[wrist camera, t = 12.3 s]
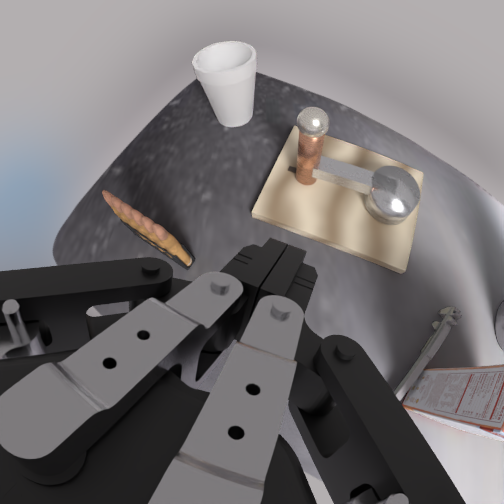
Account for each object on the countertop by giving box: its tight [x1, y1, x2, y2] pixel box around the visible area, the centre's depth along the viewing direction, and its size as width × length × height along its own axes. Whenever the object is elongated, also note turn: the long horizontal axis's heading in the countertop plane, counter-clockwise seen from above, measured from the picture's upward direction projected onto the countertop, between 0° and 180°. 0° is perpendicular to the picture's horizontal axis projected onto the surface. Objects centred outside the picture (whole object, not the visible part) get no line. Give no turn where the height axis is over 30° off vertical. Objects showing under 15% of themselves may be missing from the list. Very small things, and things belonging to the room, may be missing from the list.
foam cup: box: [192, 41, 257, 127], centre depth 42 cm, size 10×9×13 cm
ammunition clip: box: [102, 190, 195, 270], centre depth 36 cm, size 11×2×12 cm, turn 57°
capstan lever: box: [296, 107, 420, 225], centre depth 33 cm, size 17×7×13 cm, turn 70°
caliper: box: [394, 307, 462, 401], centre depth 30 cm, size 20×1×6 cm, turn 141°
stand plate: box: [251, 126, 423, 274], centre depth 41 cm, size 22×17×2 cm
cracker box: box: [402, 364, 504, 442], centre depth 20 cm, size 14×6×21 cm, turn 60°
